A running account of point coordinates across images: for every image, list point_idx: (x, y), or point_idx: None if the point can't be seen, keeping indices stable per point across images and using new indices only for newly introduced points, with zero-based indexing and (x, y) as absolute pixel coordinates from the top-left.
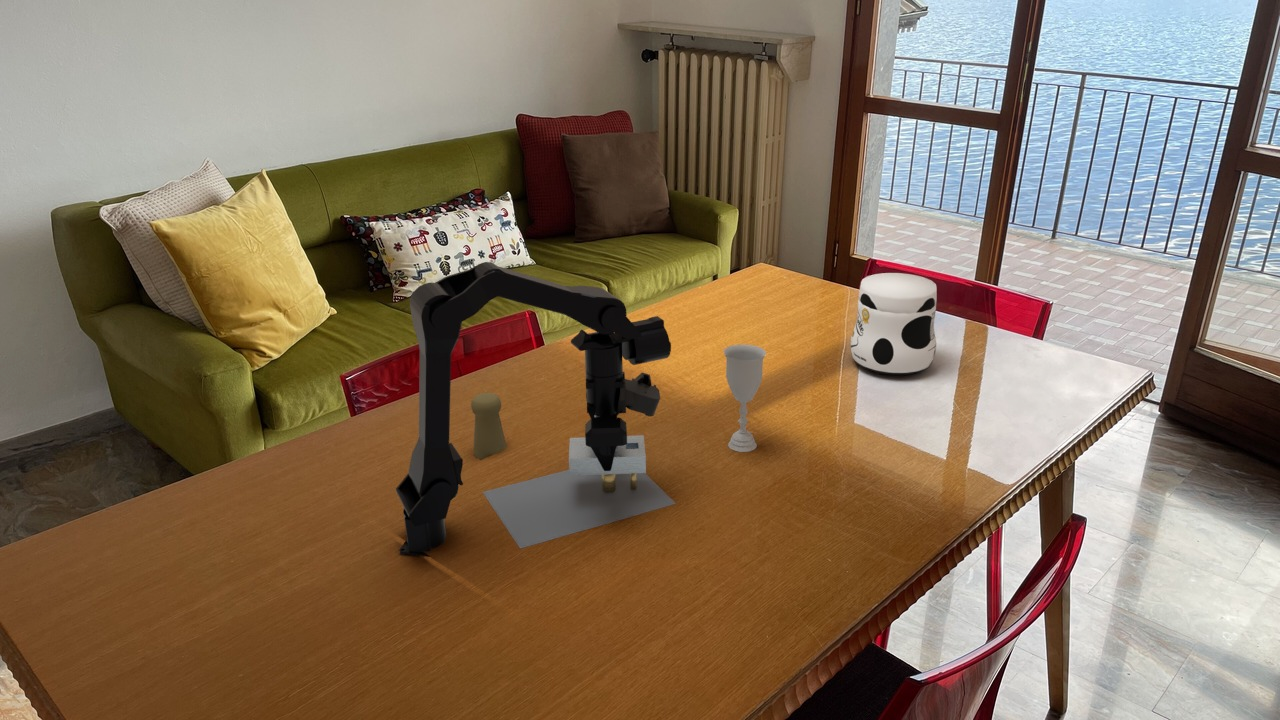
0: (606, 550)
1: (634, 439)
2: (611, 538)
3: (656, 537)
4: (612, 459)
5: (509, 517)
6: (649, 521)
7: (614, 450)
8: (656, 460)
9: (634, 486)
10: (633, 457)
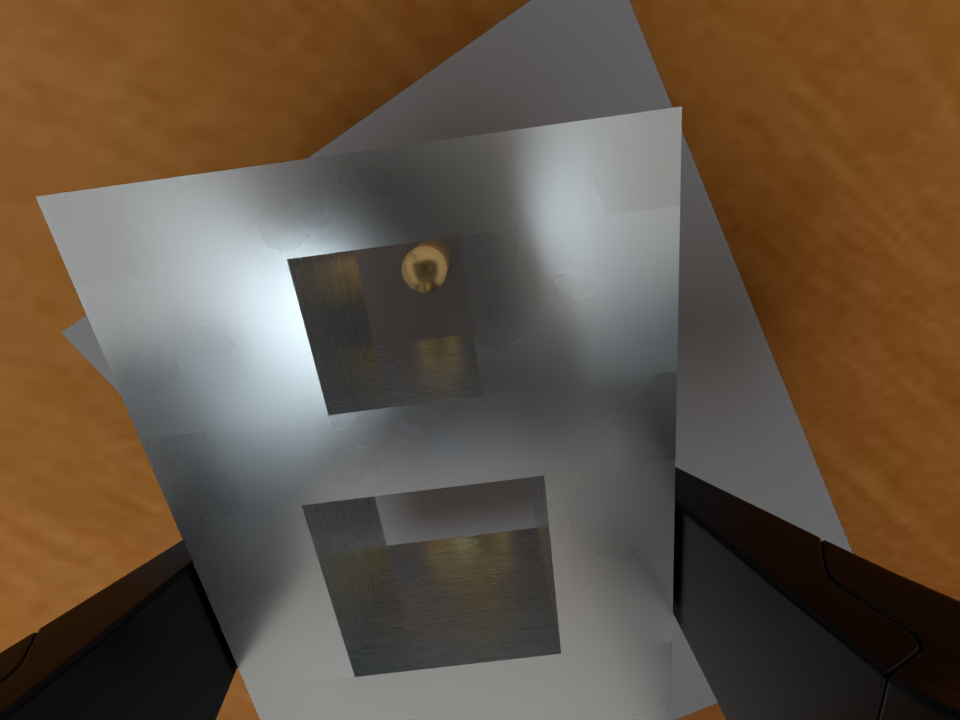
0: (920, 329)
1: (202, 317)
2: (831, 318)
3: (871, 83)
4: (756, 514)
5: (675, 696)
6: (711, 137)
7: (957, 610)
8: (32, 143)
9: (449, 249)
10: (674, 284)
